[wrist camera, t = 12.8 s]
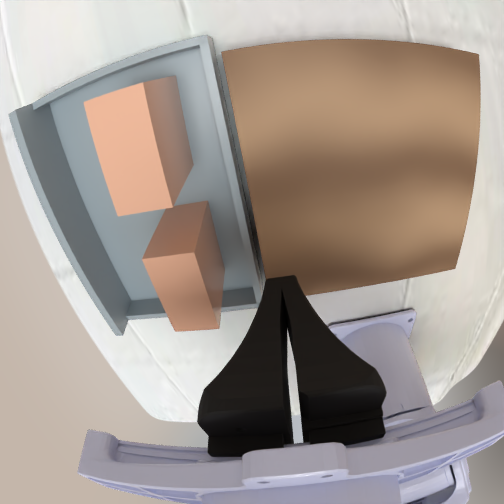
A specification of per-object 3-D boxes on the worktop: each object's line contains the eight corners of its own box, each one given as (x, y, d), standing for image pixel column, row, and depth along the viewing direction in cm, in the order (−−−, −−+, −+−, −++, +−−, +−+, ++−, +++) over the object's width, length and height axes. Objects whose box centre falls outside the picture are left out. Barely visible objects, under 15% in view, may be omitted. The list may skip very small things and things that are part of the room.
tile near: (172, 207, 11) (117, 216, 12) (193, 164, 16) (151, 172, 16) (142, 82, 9) (83, 102, 9) (176, 75, 13) (130, 87, 13)
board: (439, 247, 19) (455, 268, 17) (268, 274, 20) (269, 300, 18) (453, 51, 11) (478, 54, 9) (225, 53, 12) (221, 51, 10)
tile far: (219, 328, 16) (175, 331, 16) (224, 269, 20) (188, 273, 20) (194, 252, 13) (141, 259, 13) (207, 200, 17) (166, 207, 17)
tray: (262, 286, 21) (264, 324, 18) (128, 301, 22) (115, 335, 19) (212, 38, 12) (201, 31, 9) (44, 100, 13) (8, 114, 10)
